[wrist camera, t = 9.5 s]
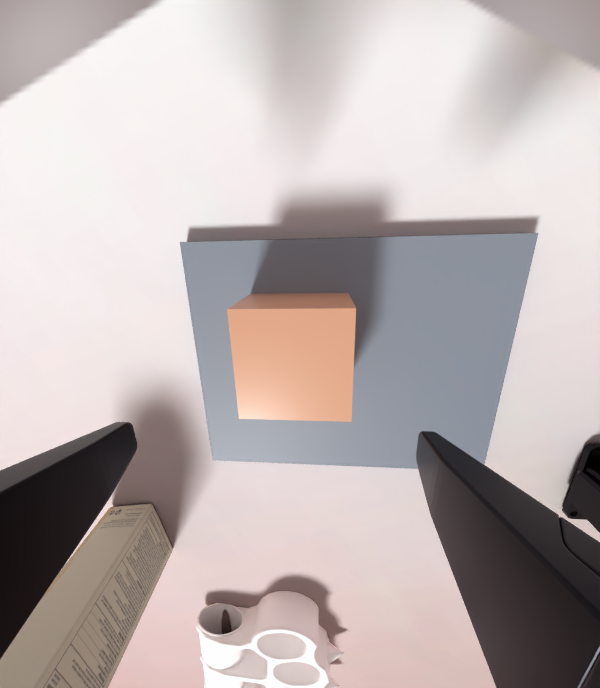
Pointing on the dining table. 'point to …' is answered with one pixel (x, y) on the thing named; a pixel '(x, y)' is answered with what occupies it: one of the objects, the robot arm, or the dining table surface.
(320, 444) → the base plate
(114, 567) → the skincare box
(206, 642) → the white egg tray
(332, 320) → the orange block
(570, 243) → the dining table surface
